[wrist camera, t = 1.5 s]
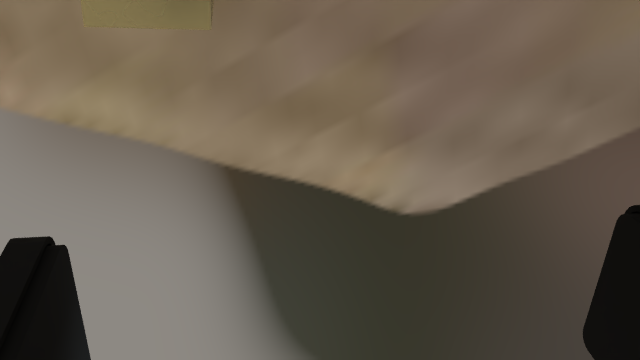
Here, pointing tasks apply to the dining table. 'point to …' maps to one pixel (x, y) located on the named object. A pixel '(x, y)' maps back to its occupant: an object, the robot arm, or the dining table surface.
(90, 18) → the peg
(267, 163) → the dining table surface
